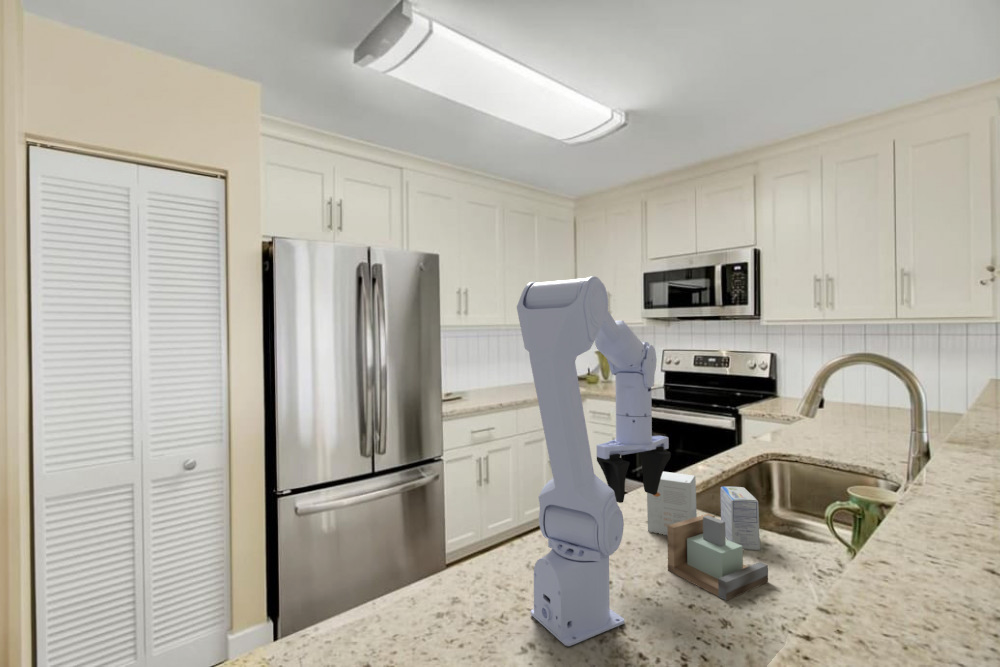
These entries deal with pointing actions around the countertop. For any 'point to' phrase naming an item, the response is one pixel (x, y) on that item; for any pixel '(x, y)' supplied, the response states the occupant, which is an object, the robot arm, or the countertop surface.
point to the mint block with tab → (714, 550)
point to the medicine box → (740, 517)
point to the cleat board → (720, 587)
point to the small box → (671, 502)
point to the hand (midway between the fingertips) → (634, 496)
